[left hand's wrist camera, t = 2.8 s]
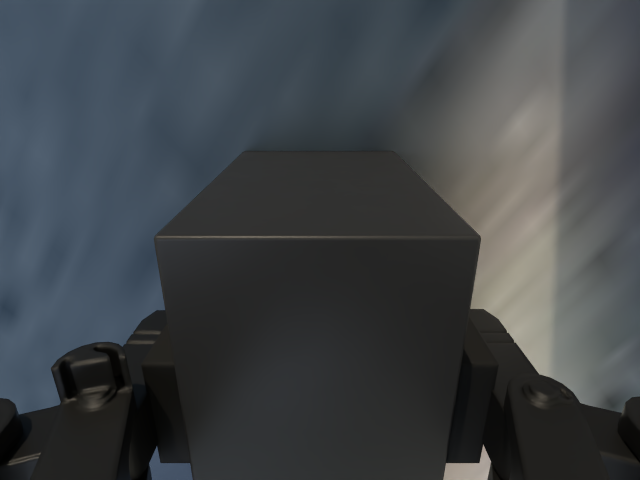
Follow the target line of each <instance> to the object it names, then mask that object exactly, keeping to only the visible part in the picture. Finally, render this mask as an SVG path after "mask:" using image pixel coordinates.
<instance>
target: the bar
mask: <svg viewBox="0 0 640 480" xmlns="http://www.w3.org/2000/svg"><path fill="white" fill-rule="evenodd" d="M480 242H481V238H480V235H479V234H478V233H477V232H476V231H474V230H473V229H472V228H471V227H470V226H469V225H468V224H467V223H466V222H465V221H464V220H463V219H462V218H461V217H460V216H459V215H458V214H457V213H456V212H455V211H454V210H453V209H452V208H451V207H450V206H449V205H448V204H447V203H446V202H445V201H444V200H443V199H442V198H441V197H440V196H439V195H438V194H437V193H436V192H435V191H434V190H433V189H432V188H431V187H430V186H429V185H428V184H427V183H426V182H425V181H424V180H423V179H421V178H420V177H419V176H418V175H417V174H416V173H415V172H414V171H413V170H412V169H411V168H410V167H409V166H408V165H407V164H406V163H405V162H404V161H403V160H402V159H401V158H400V157H399V156H398V155H397V154H396V153H395V152H393V151H244V152H243V153H242V154H241V155H239V156H238V157H237V158H236V159H235V160H234V161H233V162H232V163H231V164H230V165H229V166H228V167H227V168H226V169H225V170H224V171H223V172H222V173H221V174H220V175H218V176H217V177H216V178H215V179H214V180H213V181H212V182H211V183H210V184H209V185H208V186H207V187H206V188H205V189H204V190H203V191H202V192H201V193H200V194H198V195H197V196H196V197H195V198H194V199H193V200H192V201H191V202H190V203H189V204H188V205H187V206H186V207H185V208H184V209H183V210H182V211H181V212H180V213H178V214H177V215H176V216H175V217H174V218H173V219H172V220H171V221H170V222H169V223H168V224H167V225H166V226H165V227H164V228H163V229H162V230H161V231H160V232H158V233H157V234H156V235H155V237H154V243H155V249H156V255H157V261H158V267H159V273H160V280H161V286H162V292H163V298H164V304H165V310H166V317H167V323H168V329H169V335H170V341H171V347H172V354H173V360H174V366H175V372H176V378H177V384H178V390H179V397H180V403H181V409H182V415H183V421H184V427H185V434H186V440H187V446H188V452H189V458H190V464H191V471H192V477H193V480H443V477H444V471H445V465H446V458H447V452H448V445H449V439H450V433H451V426H452V420H453V414H454V407H455V401H456V395H457V388H458V382H459V376H460V369H461V363H462V356H463V350H464V344H465V337H466V331H467V325H468V318H469V312H470V306H471V299H472V293H473V287H474V280H475V274H476V267H477V261H478V255H479V248H480Z"/></svg>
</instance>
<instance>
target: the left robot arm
mask: <svg viewBox="0 0 640 480" xmlns="http://www.w3.org/2000/svg"><path fill="white" fill-rule="evenodd" d="M51 371H52V374H53V377H54V381H55V384H56V387H57V391H58V394H59V397H60V401H61V403H60V405H58V406H54V407H51V408H46V409H42V410H38V411H33V412H29V413H24V414H20V415H19V414H18V411H17V408H16V406H15V404H14V403H13V402H12V401H10V400H9V399H3V398H0V480H152V477H151V470H150V466H149V462H150V460H151V458H152V455H153V453H154V451H155V449H156V446H157V447H158V452H159V457H160V462H161V463H190V458H189V452H188V446H187V440H186V434H185V427H184V421H183V415H182V409H181V403H180V397H179V390H178V384H177V378H176V372H175V366H174V360H173V354H172V347H171V341H170V335H169V329H168V323H167V317H166V310H157V311H155V312H154V313H152V314H151V315H149V316H148V317H146V318H145V319H143V320H142V321H141V323H140V324H139V325H138V327H137V328H136V329H135V331H134V334H132V335H131V336H130V338H129V339H128V340H127V343H126V344H124V346H123V347H122V346H120V345H119V344H116V343H111V342H97V343H92V344H88V345H84V346H81V347H79V348H76V349H74V350H72V351H70V352H68V353H66V354H65V355H64V356H62V357H61V358H59V359H58V360H57V361H56V362H55V364H54V365H53V366H52V367H51ZM483 444H484V447H485V449H486V451H487V453H488V456H489V458H490V460H491V466H490V470H489V475H488V480H640V397H632V398H631V399H629V400H628V401H627V402H626V403H625V406H624V408H623V411H622V413H619V412H615V411H610V410H606V409H601V408H597V407H592V406H588V405H585V404H581V403H580V402H579V400H578V399H577V398H576V396H575V395H574V393H573V392H572V391H571V390H569V389H568V388H567V387H566V386H565V385H563V384H562V383H560V382H558V381H556V380H554V379H552V378H550V377H546V376H543V375H539V374H538V372H537V371H536V370H535V368H534V367H533V366H532V364H531V363H530V361H529V360H528V359H527V357H526V356H525V355H524V353H523V352H522V351H521V349H520V348H519V347H518V345H517V344H516V343H514V340H513V339H512V337H511V336H510V334H509V333H507V330H506V329H505V328H504V326H503V325H502V324H501V322H500V321H499V320H498V319H497V318H496V317H494V316H493V315H491V314H490V313H488V312H487V311H485V310H484V309H470V312H469V318H468V325H467V331H466V337H465V344H464V350H463V356H462V363H461V369H460V376H459V382H458V388H457V395H456V401H455V407H454V414H453V420H452V426H451V433H450V439H449V445H448V452H447V458H446V463H479V462H480V457H481V452H482V447H483Z"/></svg>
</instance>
